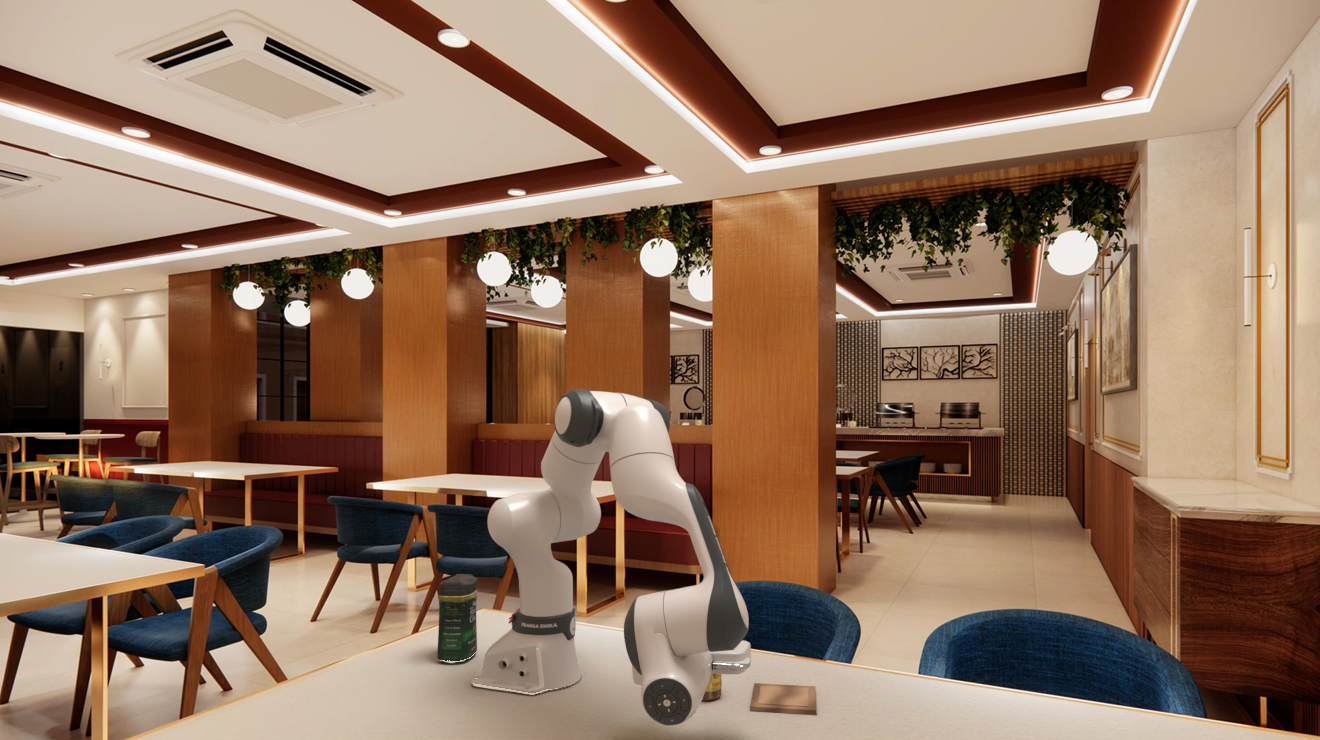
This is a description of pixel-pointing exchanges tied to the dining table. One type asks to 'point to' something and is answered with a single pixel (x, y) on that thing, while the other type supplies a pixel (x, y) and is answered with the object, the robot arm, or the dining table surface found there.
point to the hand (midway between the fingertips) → (696, 640)
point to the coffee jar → (457, 618)
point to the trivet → (783, 699)
